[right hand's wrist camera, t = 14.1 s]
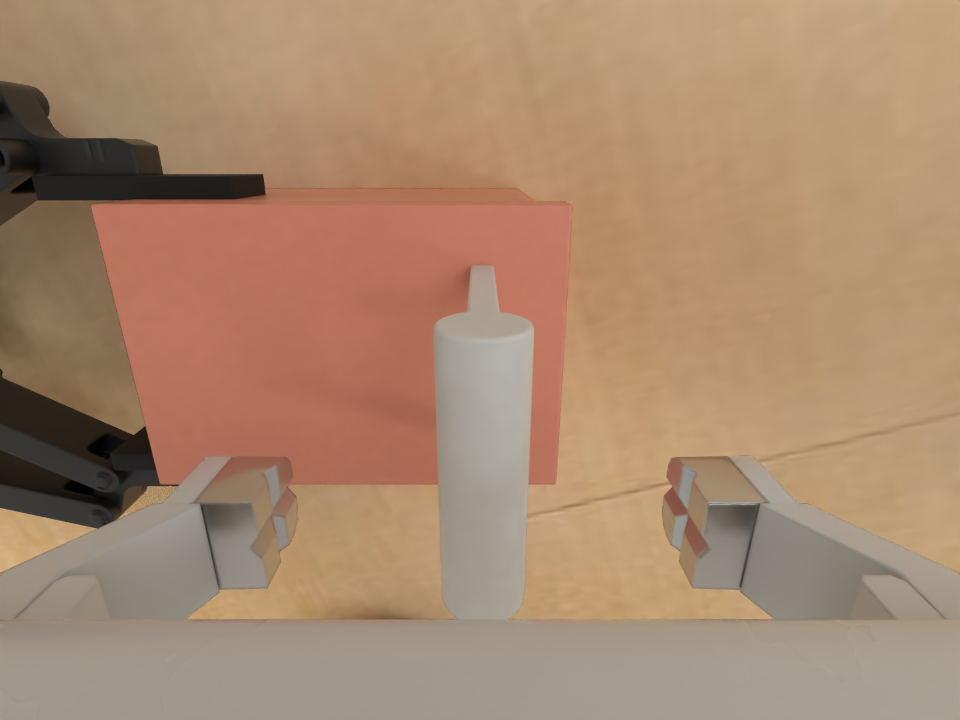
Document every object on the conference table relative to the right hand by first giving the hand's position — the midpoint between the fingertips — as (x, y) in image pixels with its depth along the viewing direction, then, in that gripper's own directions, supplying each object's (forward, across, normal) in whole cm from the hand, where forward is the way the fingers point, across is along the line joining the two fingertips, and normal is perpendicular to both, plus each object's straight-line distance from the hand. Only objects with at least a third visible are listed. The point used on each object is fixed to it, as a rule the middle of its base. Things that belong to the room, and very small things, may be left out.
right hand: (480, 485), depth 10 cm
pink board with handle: (+8, +4, 0) cm, 9 cm away
